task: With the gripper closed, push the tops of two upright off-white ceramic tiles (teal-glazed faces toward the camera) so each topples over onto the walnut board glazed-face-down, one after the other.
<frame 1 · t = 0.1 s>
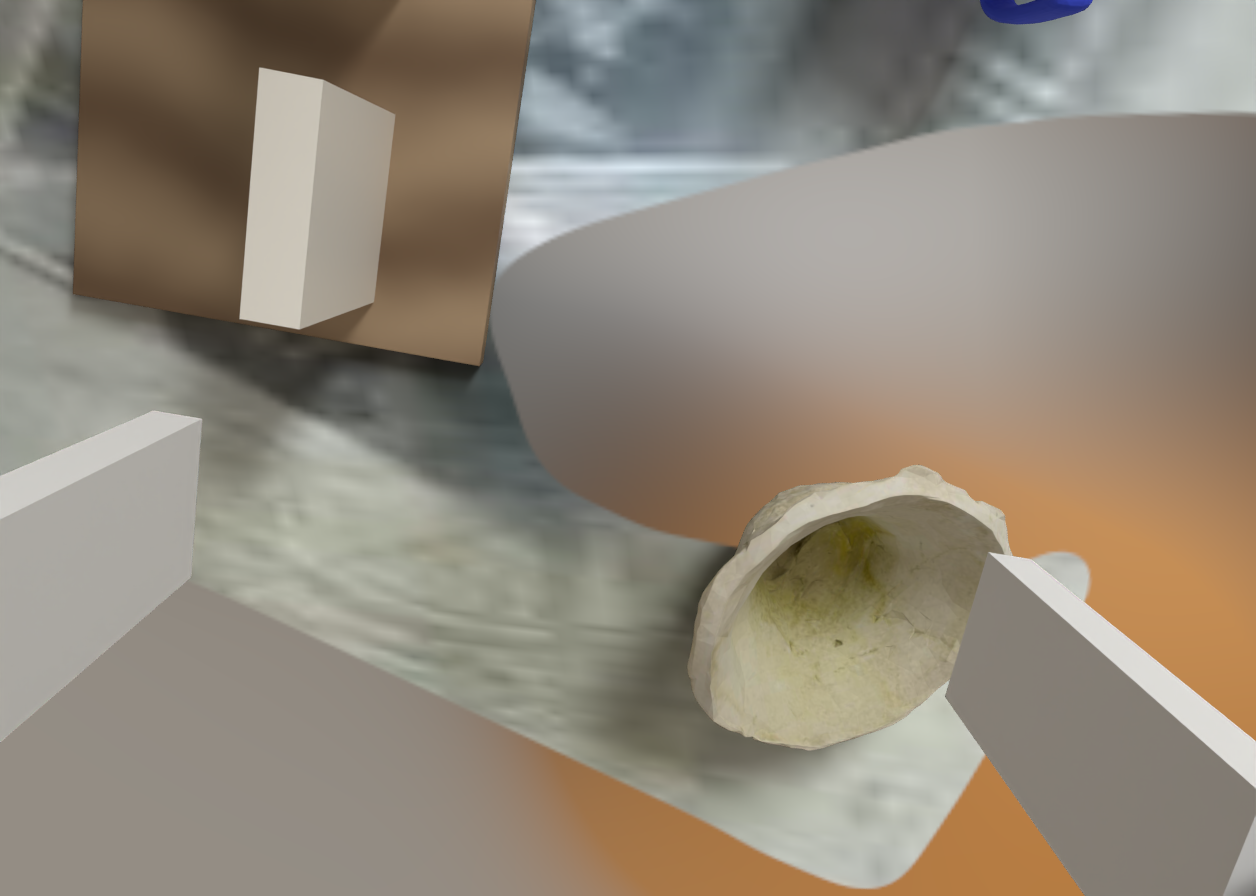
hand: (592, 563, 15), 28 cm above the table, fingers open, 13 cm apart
board: (316, 25, 38), on the table
bowl: (821, 561, 45), on the table
tile b: (361, 206, 39), point 1 cm above the table, touching board
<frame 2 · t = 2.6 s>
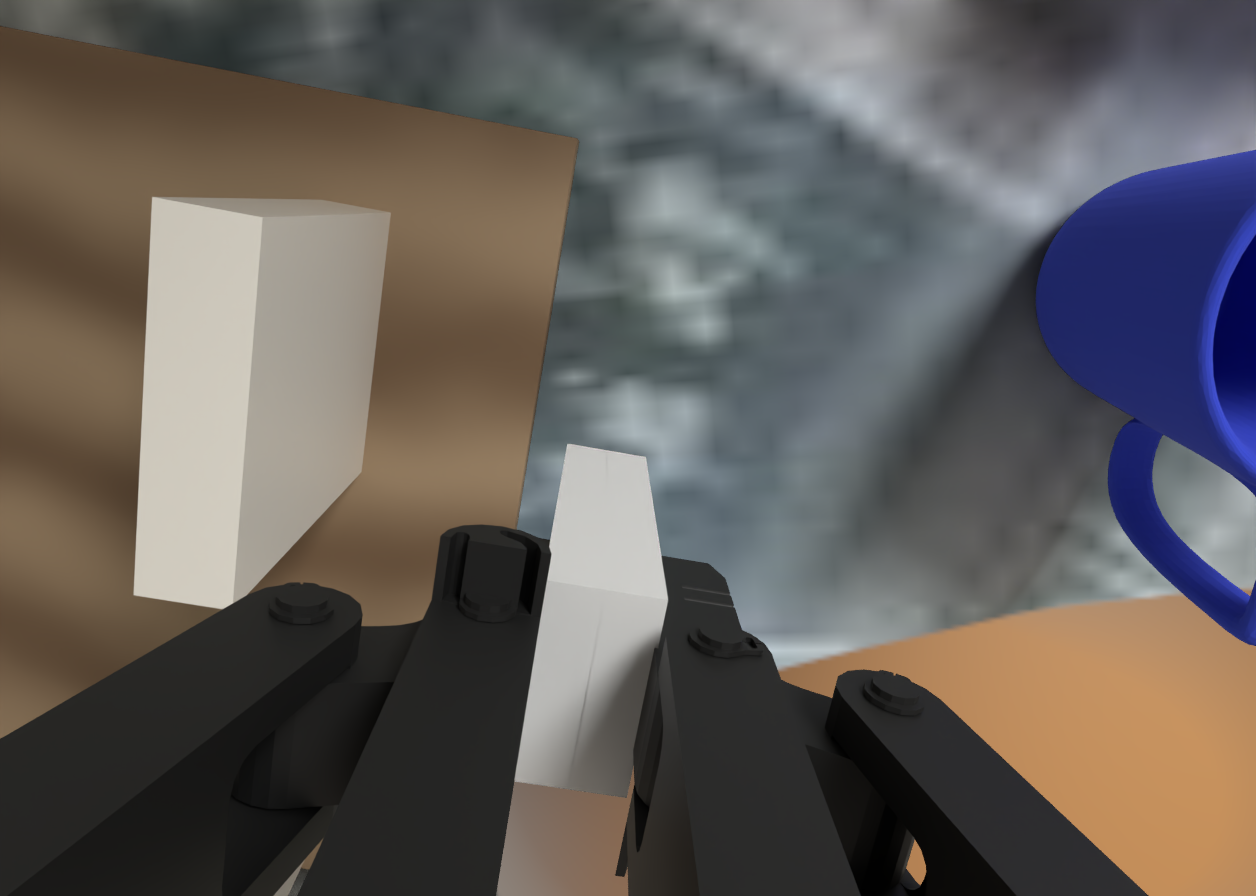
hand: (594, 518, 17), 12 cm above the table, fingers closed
board: (242, 498, 30), on the table
mug: (1114, 345, 29), on the table
tile a: (342, 341, 27), point 1 cm above the table, touching board
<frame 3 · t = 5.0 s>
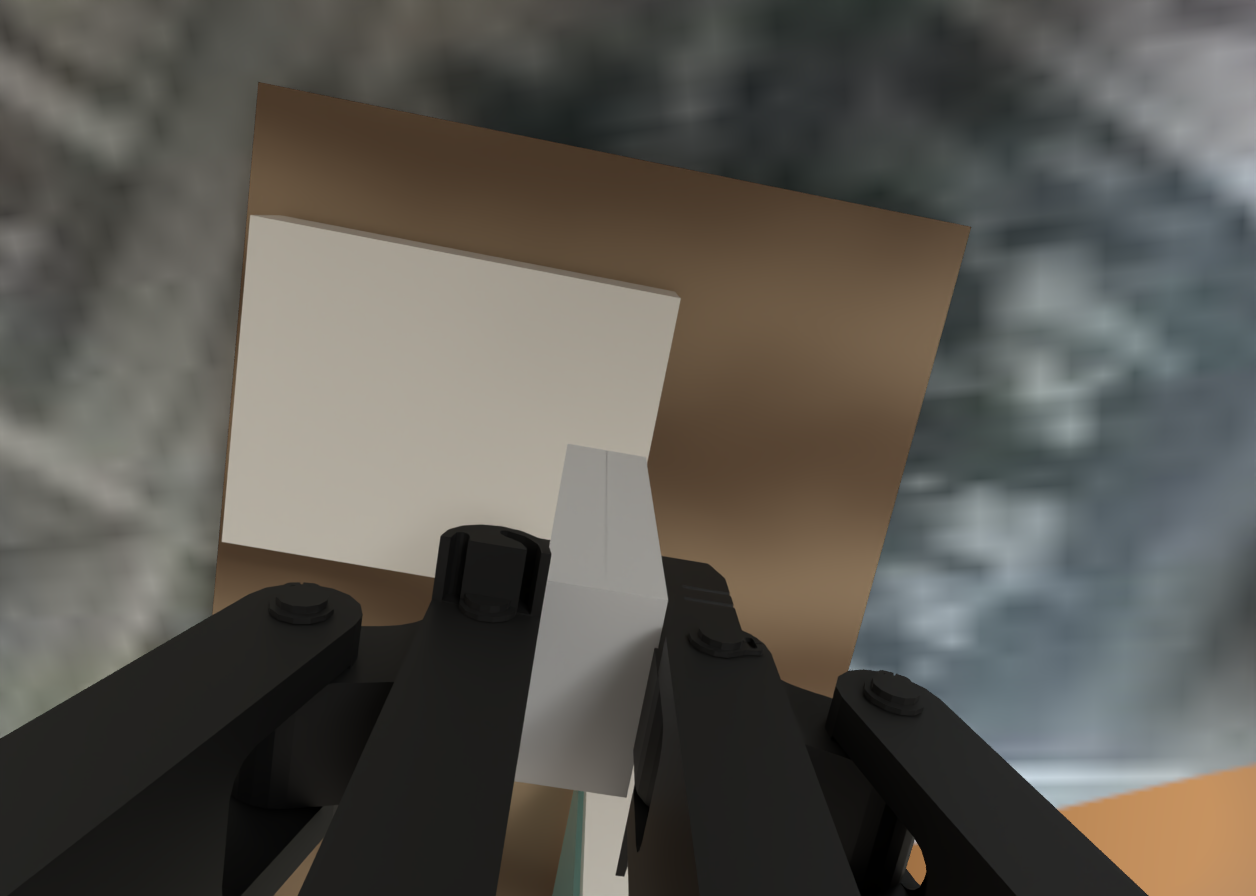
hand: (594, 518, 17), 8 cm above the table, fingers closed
board: (541, 611, 27), on the table
tile b: (597, 854, 27), point 1 cm above the table, touching board
tile a: (646, 449, 23), point 2 cm above the table, tilted 90°, touching board
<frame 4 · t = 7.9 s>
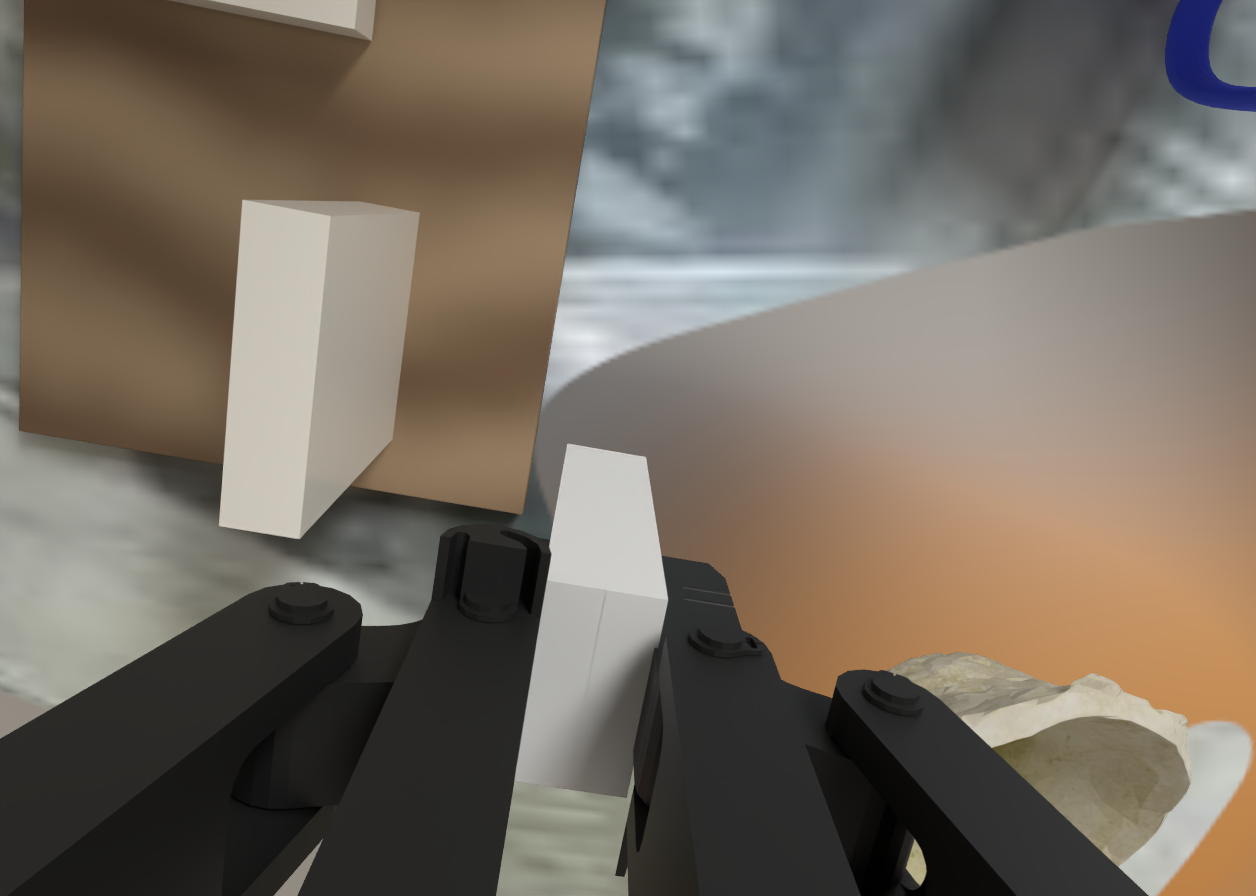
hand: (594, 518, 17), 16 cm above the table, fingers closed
board: (319, 99, 30), on the table
bowl: (929, 731, 37), on the table
tile b: (376, 324, 31), point 1 cm above the table, touching board
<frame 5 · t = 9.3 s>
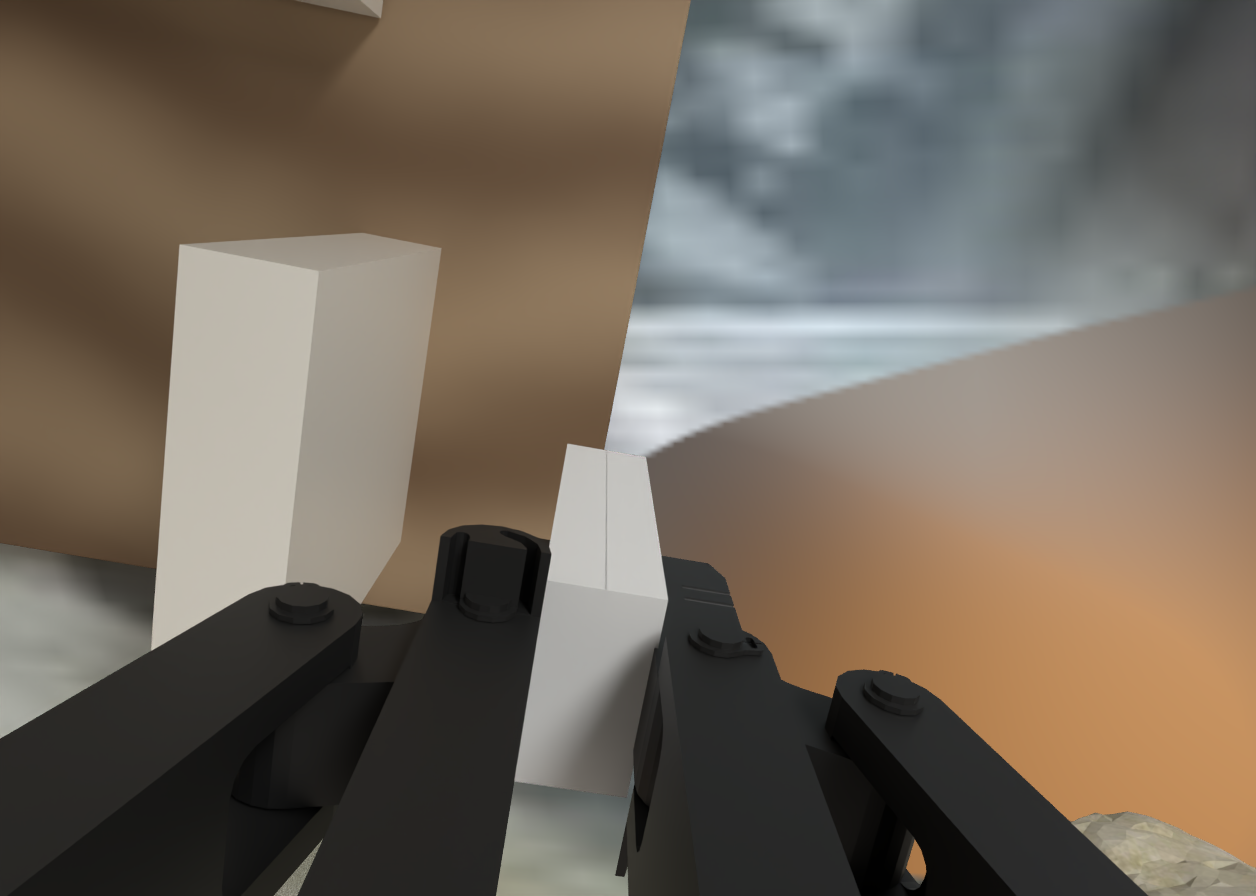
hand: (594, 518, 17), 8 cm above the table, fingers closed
board: (310, 97, 23), on the table
tile b: (382, 393, 24), point 1 cm above the table, touching board
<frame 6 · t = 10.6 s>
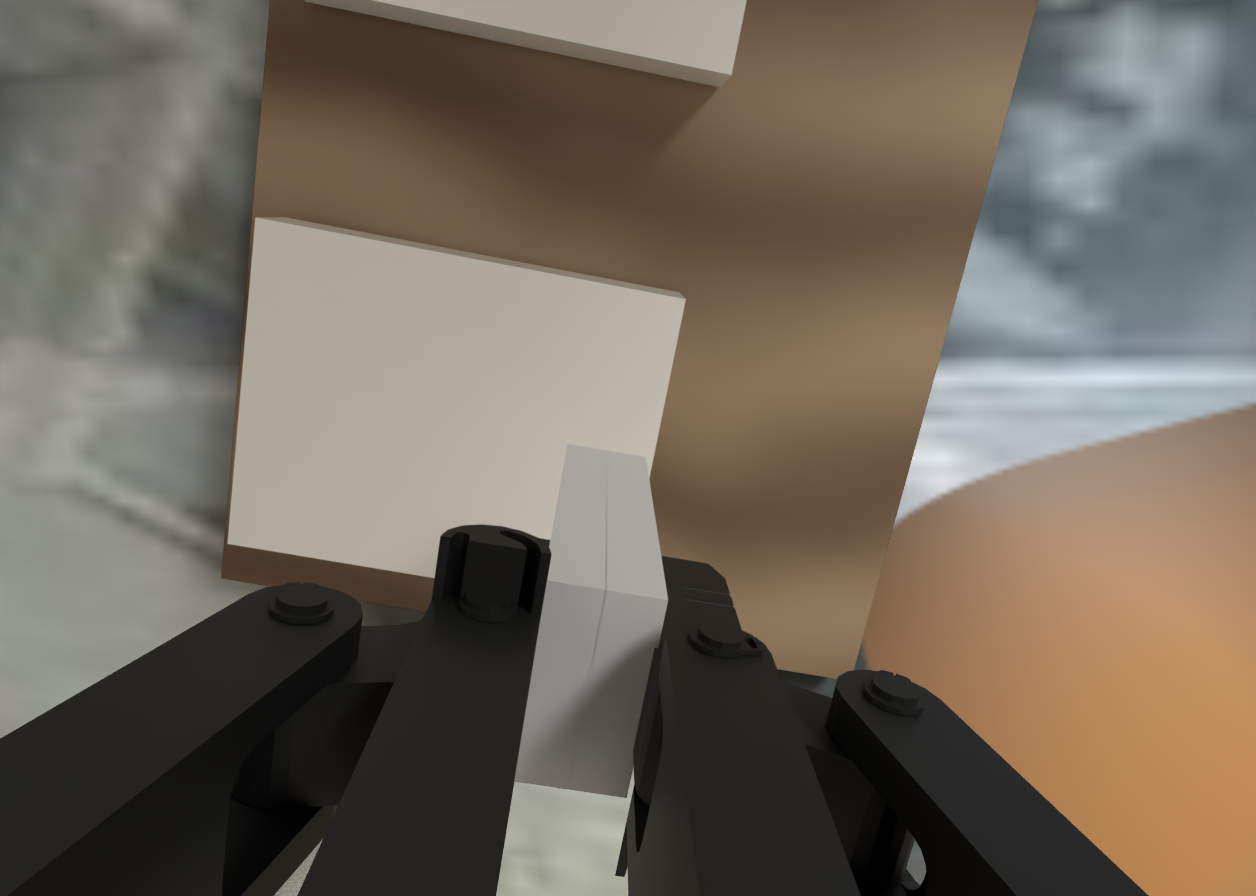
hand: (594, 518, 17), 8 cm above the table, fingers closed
board: (627, 160, 24), on the table
tile b: (651, 450, 23), point 2 cm above the table, tilted 90°, touching board
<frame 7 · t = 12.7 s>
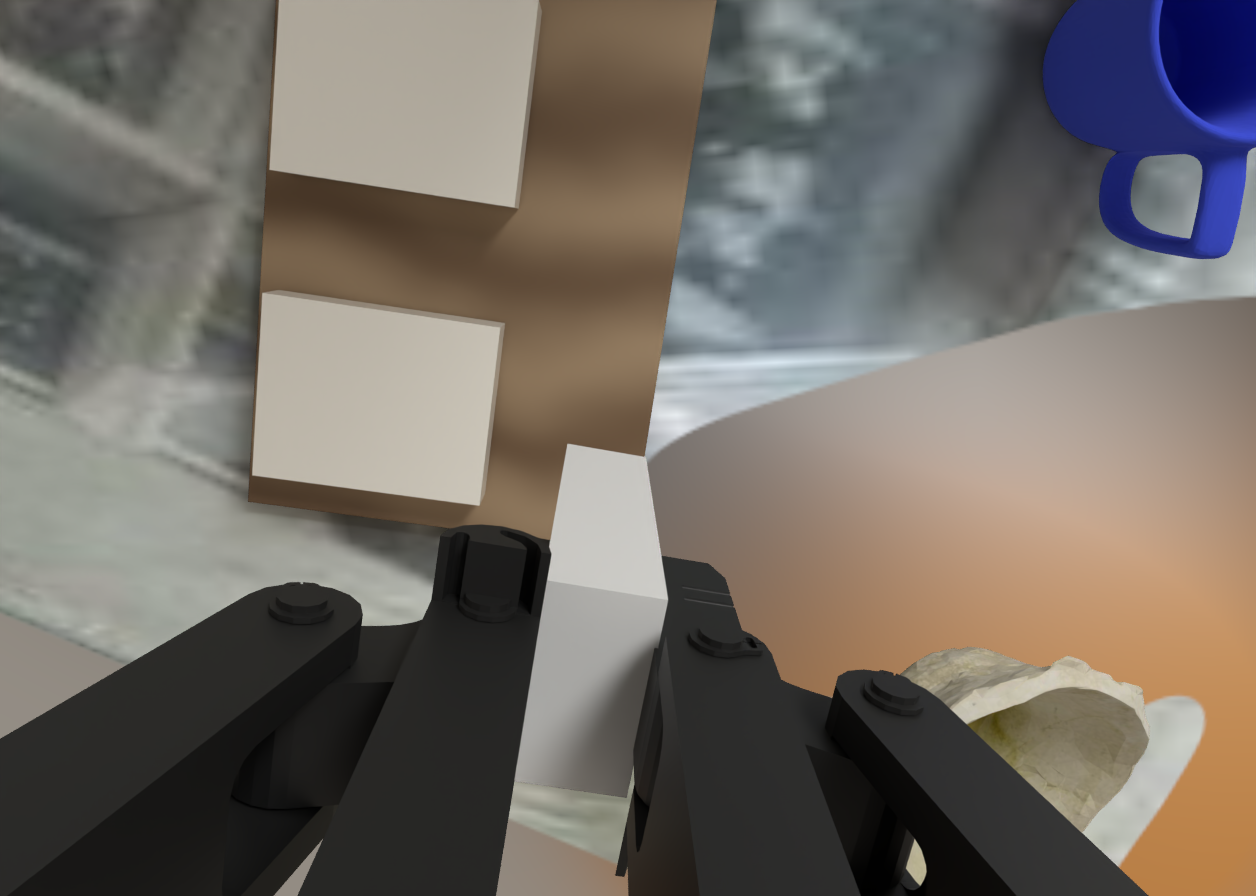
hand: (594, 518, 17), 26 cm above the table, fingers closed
board: (474, 248, 41), on the table
mug: (1100, 115, 41), on the table
bowl: (948, 712, 47), on the table
tile b: (492, 414, 40), point 2 cm above the table, tilted 90°, touching board
tile a: (528, 109, 37), point 2 cm above the table, tilted 90°, touching board
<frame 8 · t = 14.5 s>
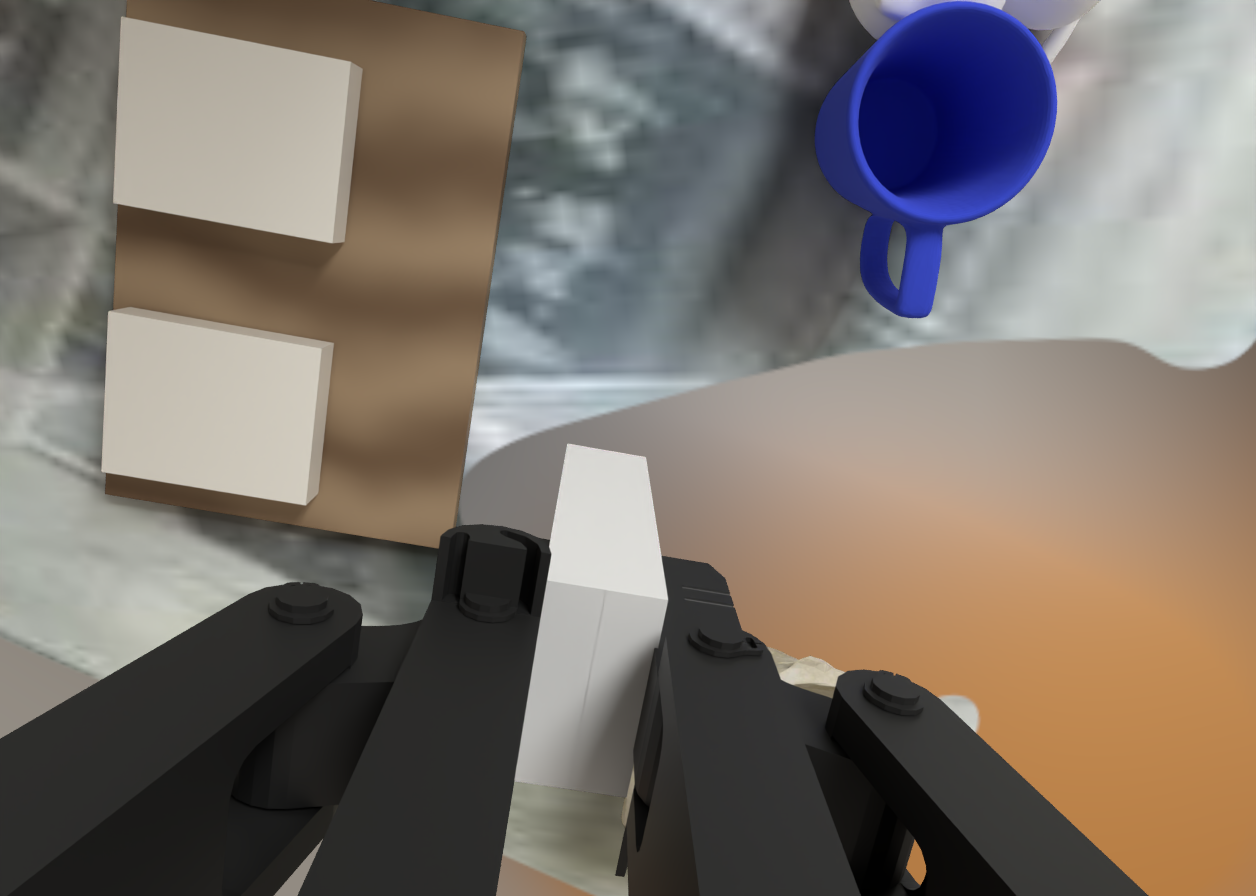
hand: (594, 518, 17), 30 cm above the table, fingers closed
board: (310, 274, 46), on the table
mug: (871, 178, 45), on the table
bowl: (746, 703, 52), on the table
tile b: (319, 424, 45), point 2 cm above the table, tilted 90°, touching board
tile a: (347, 156, 42), point 2 cm above the table, tilted 90°, touching board
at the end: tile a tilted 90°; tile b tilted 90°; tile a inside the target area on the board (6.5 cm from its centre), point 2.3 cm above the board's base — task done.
